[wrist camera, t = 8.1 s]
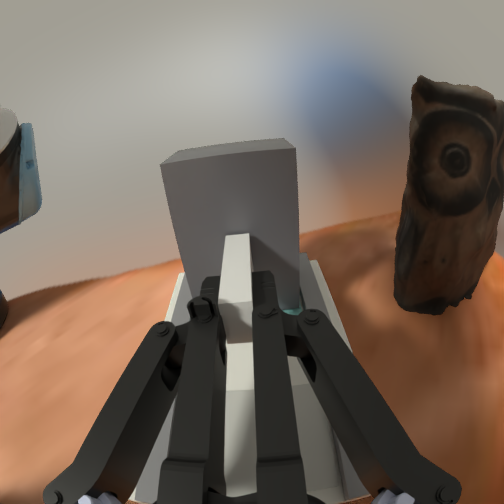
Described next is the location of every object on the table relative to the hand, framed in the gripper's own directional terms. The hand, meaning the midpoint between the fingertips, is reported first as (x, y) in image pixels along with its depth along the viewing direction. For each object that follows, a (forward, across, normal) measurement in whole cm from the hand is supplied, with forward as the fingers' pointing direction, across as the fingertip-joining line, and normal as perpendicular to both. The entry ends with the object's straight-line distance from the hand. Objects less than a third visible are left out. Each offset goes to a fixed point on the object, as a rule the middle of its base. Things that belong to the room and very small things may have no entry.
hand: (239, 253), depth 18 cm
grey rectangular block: (+3, 0, -6) cm, 6 cm away
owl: (+5, +20, -8) cm, 22 cm away
